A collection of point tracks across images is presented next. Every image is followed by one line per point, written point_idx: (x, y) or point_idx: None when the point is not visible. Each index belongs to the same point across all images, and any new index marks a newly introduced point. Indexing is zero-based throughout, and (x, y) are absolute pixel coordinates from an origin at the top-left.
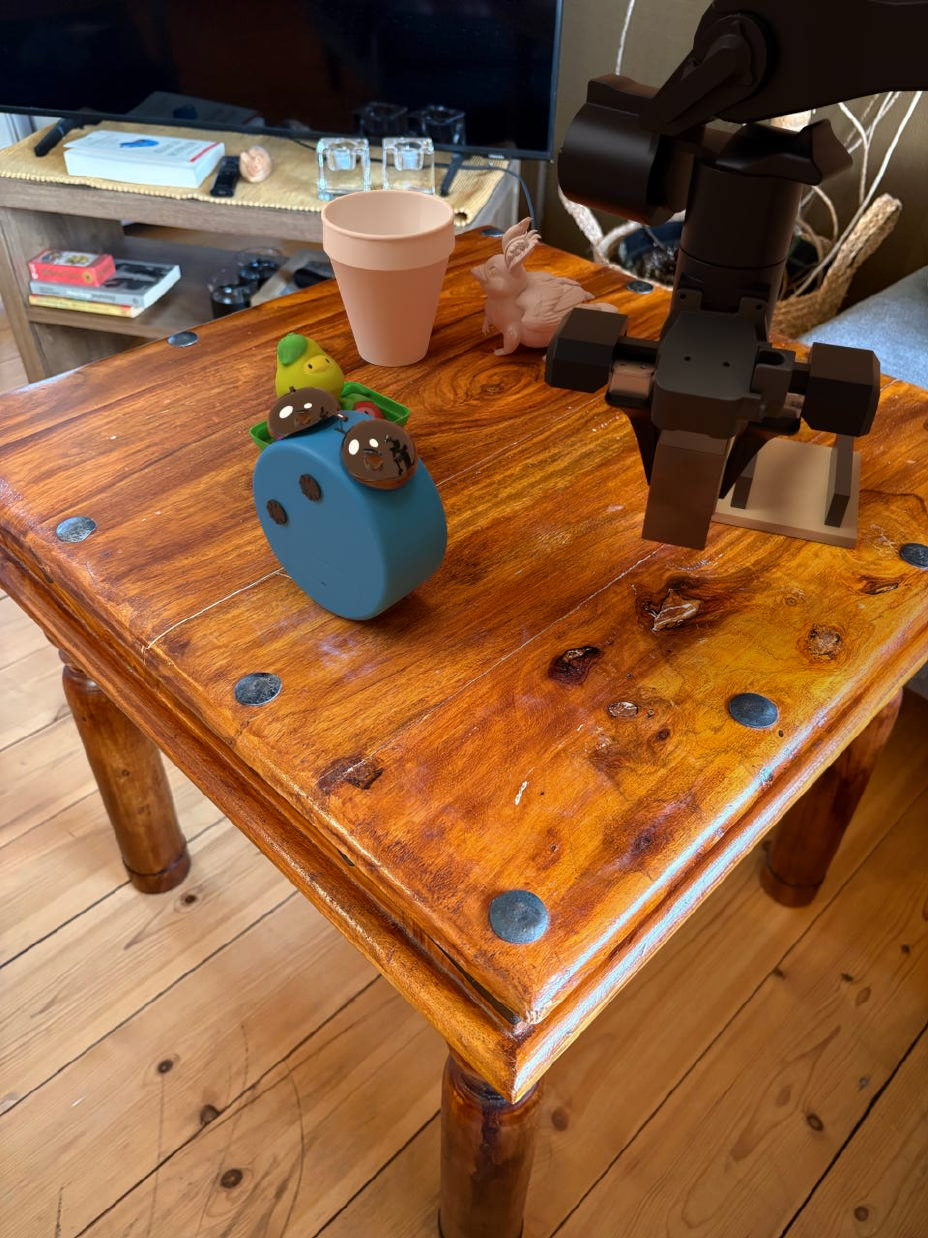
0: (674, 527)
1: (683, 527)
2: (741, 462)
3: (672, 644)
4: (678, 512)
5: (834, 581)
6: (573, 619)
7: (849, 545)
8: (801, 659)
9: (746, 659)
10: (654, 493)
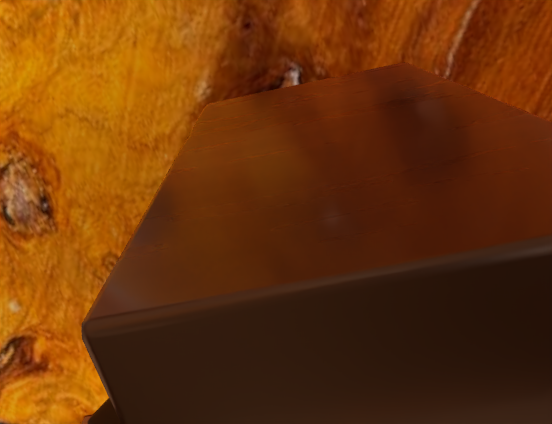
0: (315, 94)
1: (283, 102)
2: (114, 420)
3: (248, 49)
4: (319, 109)
5: (75, 339)
6: (449, 17)
7: (88, 419)
8: (31, 133)
9: (112, 81)
10: (461, 102)
